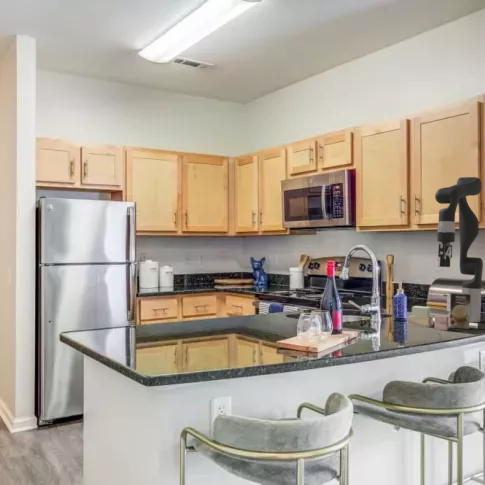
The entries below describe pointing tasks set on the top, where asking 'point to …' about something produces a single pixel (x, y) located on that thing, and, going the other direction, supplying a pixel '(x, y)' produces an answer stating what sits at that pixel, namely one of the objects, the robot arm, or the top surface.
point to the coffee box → (458, 310)
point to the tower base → (420, 321)
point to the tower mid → (420, 311)
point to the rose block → (441, 322)
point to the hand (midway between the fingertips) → (444, 267)
